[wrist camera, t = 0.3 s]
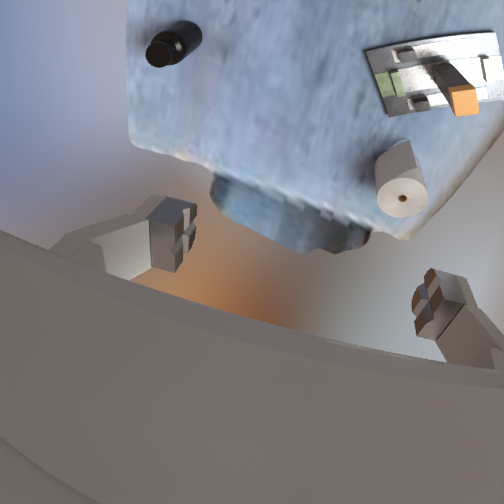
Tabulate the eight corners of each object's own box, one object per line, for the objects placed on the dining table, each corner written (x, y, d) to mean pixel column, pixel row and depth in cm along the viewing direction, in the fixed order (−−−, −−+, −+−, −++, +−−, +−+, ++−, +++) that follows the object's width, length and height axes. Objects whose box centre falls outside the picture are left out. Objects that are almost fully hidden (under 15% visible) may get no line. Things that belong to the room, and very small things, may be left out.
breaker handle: (436, 86, 42) (455, 116, 35) (431, 65, 39) (451, 92, 32) (456, 83, 40) (479, 113, 33) (451, 62, 37) (476, 89, 30)
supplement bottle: (165, 42, 49) (134, 63, 42) (179, 15, 44) (147, 30, 37) (194, 56, 51) (167, 79, 44) (209, 29, 46) (183, 47, 39)
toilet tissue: (382, 190, 67) (384, 222, 61) (365, 150, 60) (367, 180, 54) (424, 180, 61) (431, 212, 55) (411, 137, 54) (420, 167, 48)
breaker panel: (388, 114, 52) (390, 122, 50) (364, 50, 43) (366, 54, 41) (503, 97, 38) (510, 104, 36) (492, 30, 29) (500, 35, 27)
